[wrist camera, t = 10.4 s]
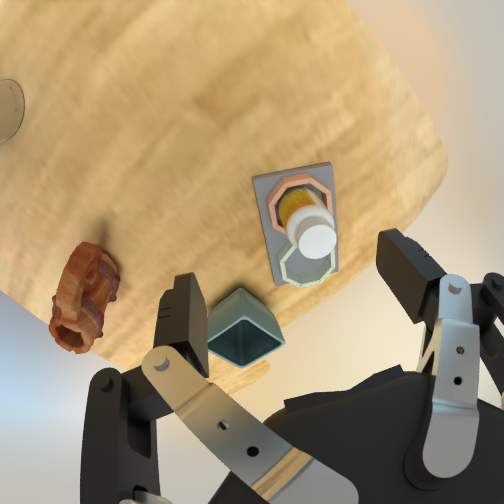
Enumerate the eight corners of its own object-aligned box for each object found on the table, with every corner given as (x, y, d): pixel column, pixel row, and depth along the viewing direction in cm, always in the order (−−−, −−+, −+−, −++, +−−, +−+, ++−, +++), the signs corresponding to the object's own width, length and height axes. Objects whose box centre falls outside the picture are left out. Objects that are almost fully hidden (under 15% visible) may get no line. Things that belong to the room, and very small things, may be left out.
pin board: (274, 281, 44) (277, 295, 42) (252, 177, 35) (254, 186, 32) (336, 266, 44) (342, 279, 41) (329, 162, 34) (338, 169, 32)
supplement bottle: (323, 190, 35) (352, 227, 27) (307, 226, 38) (329, 269, 30) (285, 177, 34) (305, 212, 26) (269, 215, 37) (283, 258, 29)
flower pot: (200, 303, 45) (198, 347, 38) (240, 271, 43) (244, 315, 35) (238, 327, 50) (242, 369, 42) (277, 301, 47) (287, 343, 39)
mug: (119, 297, 43) (96, 372, 31) (76, 281, 41) (42, 352, 28) (136, 222, 36) (100, 298, 24) (84, 204, 34) (30, 271, 22)
